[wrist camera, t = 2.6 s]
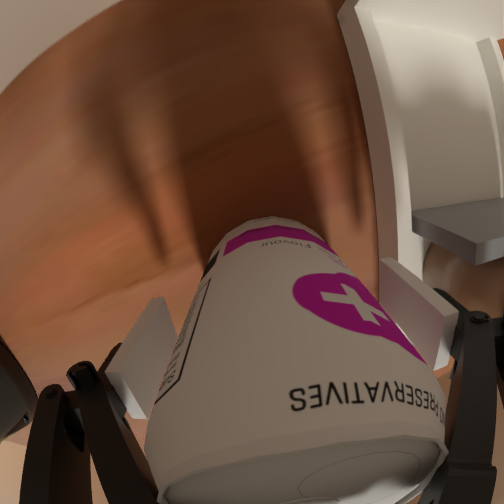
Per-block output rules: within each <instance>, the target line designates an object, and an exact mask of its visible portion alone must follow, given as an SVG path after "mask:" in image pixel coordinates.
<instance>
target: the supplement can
mask: <svg viewBox="0 0 504 504" xmlns="http://www.w3.org/2000/svg"><path fill="white" fill-rule="evenodd" d="M445 401H446V400H445V395H444V393H443V391H442V389H441V387H440V385H439V383H438V381H437V380H436V378H435V376H434V374H433V372H432V371H431V369H430V368H429V367H428V365H427V364H426V363H425V361H424V360H423V359H422V357H421V356H420V355H419V353H418V352H417V351H416V349H415V348H414V347H413V345H412V344H411V343H410V342H409V340H408V339H407V338H406V337H405V335H404V334H403V333H402V331H401V330H400V329H399V328H398V326H397V325H396V324H395V323H394V321H393V320H392V319H391V318H390V316H389V315H388V314H387V313H386V312H385V310H384V309H383V308H382V307H381V305H380V304H379V303H378V302H377V301H376V299H375V298H374V297H373V296H372V295H371V293H370V292H369V291H368V290H367V289H366V288H365V286H364V285H363V284H362V283H361V282H360V281H359V279H358V278H357V277H356V276H355V275H354V274H353V272H352V271H351V270H350V269H349V268H348V267H347V266H346V264H345V263H344V262H343V261H342V260H341V259H340V258H339V257H338V255H337V254H336V253H335V252H334V251H333V250H332V249H331V248H330V246H329V245H328V244H327V243H326V242H325V241H324V240H323V239H322V238H321V237H320V236H319V234H318V233H317V232H315V231H314V230H312V229H310V228H309V227H307V226H305V225H304V224H302V223H300V222H298V221H297V220H292V219H286V218H280V217H274V216H270V217H265V218H260V219H254V220H249V221H247V222H245V223H243V224H242V225H240V226H238V227H236V228H235V229H233V230H231V231H230V232H228V233H227V234H226V235H225V236H224V238H223V239H222V240H221V241H220V243H219V244H218V245H217V246H216V247H215V249H214V250H213V251H212V254H211V256H210V259H209V261H208V264H207V266H206V269H205V271H204V274H203V276H202V278H201V281H200V283H199V286H198V288H197V291H196V294H195V296H194V299H193V301H192V304H191V306H190V309H189V311H188V314H187V317H186V319H185V322H184V324H183V327H182V330H181V332H180V335H179V337H178V340H177V343H176V345H175V348H174V351H173V354H172V356H171V359H170V362H169V364H168V367H167V370H166V373H165V375H164V378H163V381H162V384H161V387H160V389H159V392H158V395H157V398H156V401H155V404H154V407H153V409H152V412H151V415H150V418H149V421H148V427H147V433H146V439H145V445H144V451H145V454H146V457H147V460H148V463H149V466H150V469H151V472H152V475H153V478H154V480H155V483H156V486H157V488H158V491H159V493H158V497H157V502H158V503H159V504H405V503H407V502H408V501H410V500H411V499H413V498H414V497H415V496H417V495H418V494H419V493H421V492H422V491H424V489H425V488H426V486H427V485H428V484H429V482H430V480H431V478H432V477H433V475H434V473H435V471H436V469H437V468H438V467H439V466H440V465H441V464H442V463H443V462H444V460H445V458H446V457H447V455H448V454H449V451H448V450H447V448H446V446H445V444H444V436H445V406H446V405H445Z"/></svg>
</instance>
